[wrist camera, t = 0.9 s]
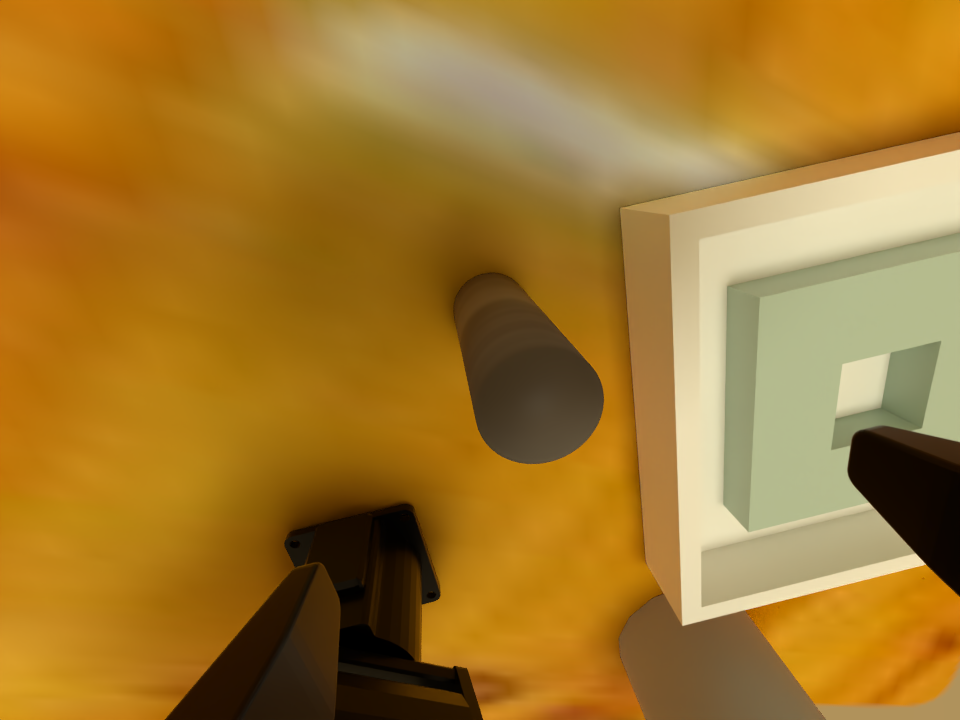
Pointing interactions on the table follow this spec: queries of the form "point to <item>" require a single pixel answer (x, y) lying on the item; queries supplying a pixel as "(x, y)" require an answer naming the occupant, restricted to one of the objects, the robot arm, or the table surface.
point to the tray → (694, 359)
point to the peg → (523, 374)
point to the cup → (708, 669)
